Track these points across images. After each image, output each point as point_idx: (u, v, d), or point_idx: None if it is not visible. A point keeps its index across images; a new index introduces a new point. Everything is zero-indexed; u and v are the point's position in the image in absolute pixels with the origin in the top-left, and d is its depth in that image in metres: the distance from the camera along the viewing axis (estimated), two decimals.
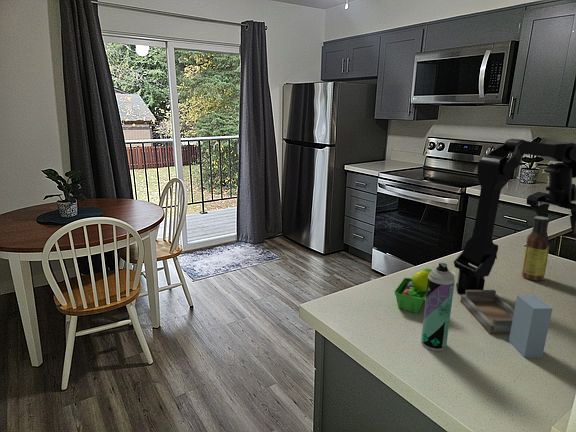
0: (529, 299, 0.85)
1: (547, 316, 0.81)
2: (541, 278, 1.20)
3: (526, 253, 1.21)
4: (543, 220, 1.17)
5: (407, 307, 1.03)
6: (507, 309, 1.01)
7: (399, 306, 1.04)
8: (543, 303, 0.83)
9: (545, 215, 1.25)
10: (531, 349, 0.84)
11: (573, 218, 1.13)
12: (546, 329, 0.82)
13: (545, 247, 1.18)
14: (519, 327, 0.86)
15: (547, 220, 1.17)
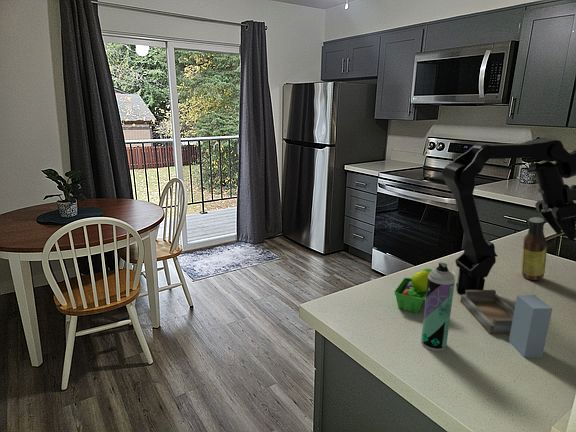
0: (529, 299, 0.85)
1: (547, 316, 0.81)
2: (541, 277, 1.20)
3: (524, 255, 1.20)
4: (538, 223, 1.14)
5: (407, 307, 1.03)
6: (507, 309, 1.01)
7: (399, 306, 1.04)
8: (543, 303, 0.83)
9: (556, 222, 1.12)
10: (531, 349, 0.84)
11: (555, 220, 1.02)
12: (546, 329, 0.82)
13: (542, 248, 1.16)
14: (519, 327, 0.86)
15: (542, 223, 1.14)
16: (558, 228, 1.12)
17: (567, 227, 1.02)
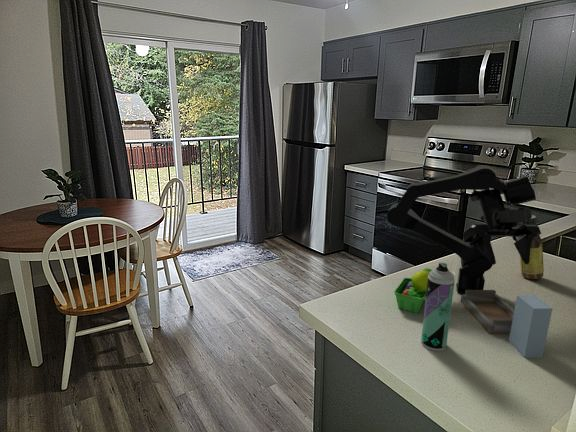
0: (529, 299, 0.85)
1: (547, 316, 0.81)
2: (541, 275, 1.20)
3: None
4: (530, 219, 1.17)
5: (407, 307, 1.03)
6: (507, 309, 1.01)
7: (399, 306, 1.04)
8: (543, 303, 0.83)
9: (523, 251, 1.00)
10: (531, 349, 0.84)
11: None
12: (546, 329, 0.82)
13: (538, 245, 1.18)
14: (519, 327, 0.86)
15: (534, 218, 1.17)
16: (525, 257, 0.99)
17: (484, 250, 0.99)
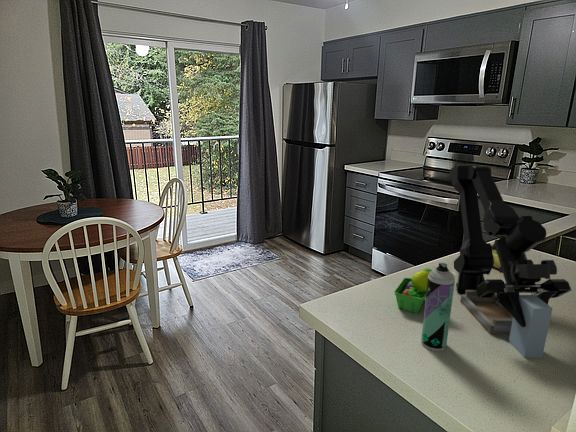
0: (529, 299, 0.85)
1: (547, 316, 0.81)
2: None
3: None
4: None
5: (407, 307, 1.03)
6: None
7: (399, 306, 1.04)
8: (543, 302, 0.83)
9: None
10: (531, 349, 0.84)
11: None
12: (546, 329, 0.82)
13: None
14: (519, 327, 0.86)
15: None
16: None
17: (512, 309, 0.86)
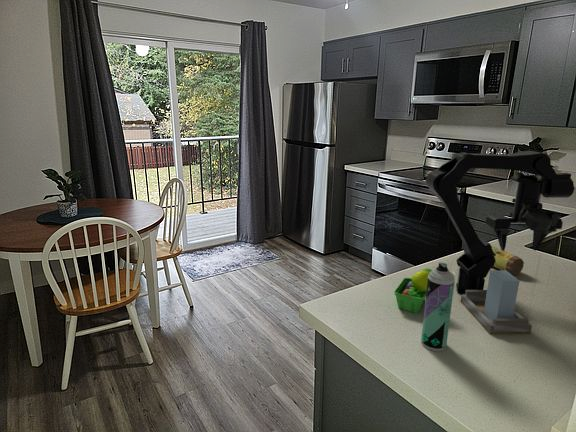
0: (500, 273, 0.96)
1: (515, 287, 0.93)
2: (511, 262, 1.23)
3: None
4: None
5: (407, 307, 1.03)
6: None
7: (399, 306, 1.04)
8: (512, 276, 0.95)
9: (536, 238, 1.10)
10: (501, 317, 0.95)
11: None
12: (514, 299, 0.94)
13: None
14: (491, 299, 0.97)
15: None
16: (535, 244, 1.10)
17: (499, 237, 1.10)
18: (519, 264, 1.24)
